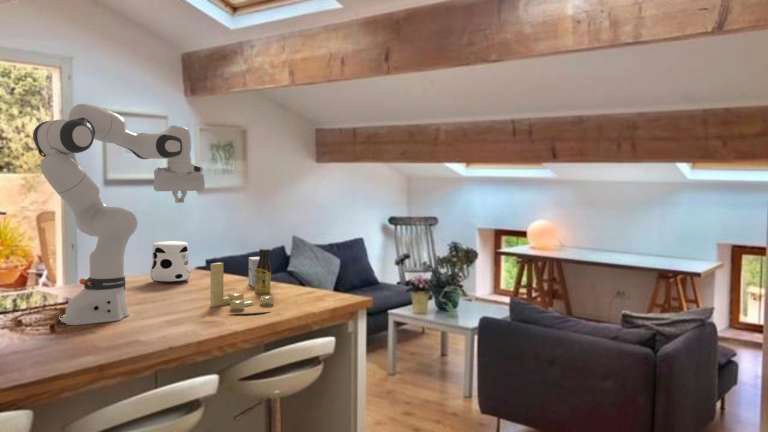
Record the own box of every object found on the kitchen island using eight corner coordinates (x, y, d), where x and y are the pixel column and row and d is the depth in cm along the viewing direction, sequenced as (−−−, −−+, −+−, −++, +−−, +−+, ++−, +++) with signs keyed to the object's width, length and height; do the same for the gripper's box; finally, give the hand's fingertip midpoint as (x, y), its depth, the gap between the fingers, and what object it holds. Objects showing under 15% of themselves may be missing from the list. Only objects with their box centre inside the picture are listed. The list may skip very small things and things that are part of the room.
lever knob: (217, 307, 235) (217, 265, 234) (207, 305, 239) (207, 263, 237) (246, 301, 246) (246, 261, 245) (236, 299, 250) (236, 259, 248)
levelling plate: (237, 318, 225) (237, 306, 224) (205, 308, 240) (205, 296, 240) (287, 309, 241) (287, 298, 240) (254, 300, 256) (254, 289, 255)
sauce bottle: (251, 296, 264) (252, 248, 263) (261, 293, 270) (261, 247, 268) (264, 298, 261) (264, 250, 260) (273, 295, 267) (274, 248, 265)
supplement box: (248, 284, 290) (248, 257, 289) (264, 283, 293) (264, 256, 292) (251, 287, 284) (252, 259, 283) (268, 286, 287) (268, 258, 286)
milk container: (198, 281, 295) (198, 243, 294) (167, 287, 280) (167, 246, 279) (173, 277, 304) (173, 240, 303) (142, 282, 290) (142, 243, 288)
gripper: (158, 167, 240) (158, 203, 241) (206, 168, 255) (206, 202, 256) (150, 167, 244) (150, 202, 245) (198, 167, 259) (198, 201, 260)
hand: (179, 202), depth 251 cm, fingers closed
